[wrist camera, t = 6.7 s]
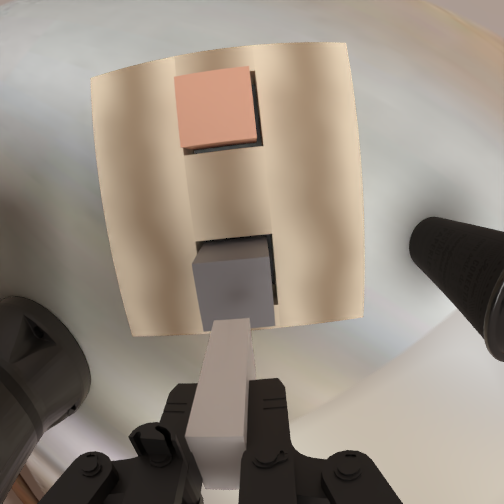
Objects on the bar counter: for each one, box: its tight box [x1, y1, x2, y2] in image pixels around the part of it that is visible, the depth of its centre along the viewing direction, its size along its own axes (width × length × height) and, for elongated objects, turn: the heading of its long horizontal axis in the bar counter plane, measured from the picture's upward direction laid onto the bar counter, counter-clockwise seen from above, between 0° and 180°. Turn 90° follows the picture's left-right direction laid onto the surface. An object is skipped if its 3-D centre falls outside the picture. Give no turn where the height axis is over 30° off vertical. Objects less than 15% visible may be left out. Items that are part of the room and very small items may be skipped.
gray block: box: [192, 236, 275, 332], centre depth 21 cm, size 4×4×5 cm
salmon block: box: [174, 66, 257, 150], centre depth 19 cm, size 4×4×5 cm
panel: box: [91, 42, 365, 337], centre depth 23 cm, size 18×20×4 cm
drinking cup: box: [409, 217, 504, 362], centre depth 16 cm, size 8×8×20 cm
